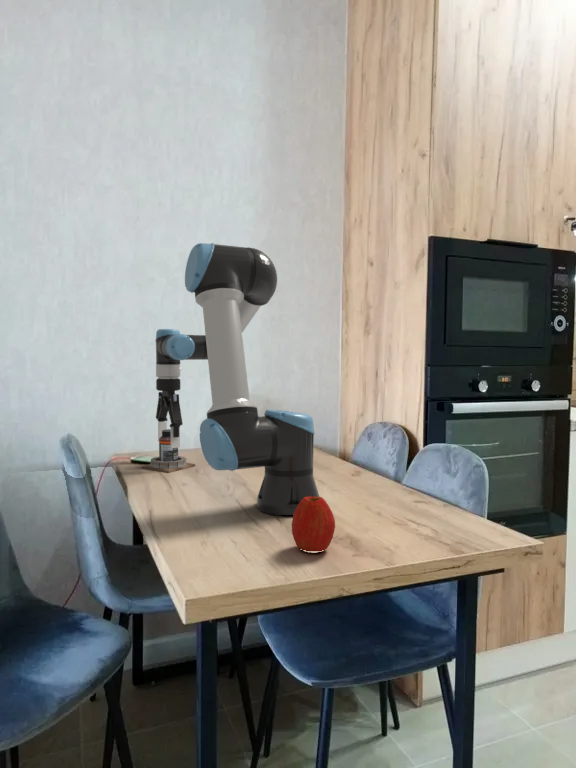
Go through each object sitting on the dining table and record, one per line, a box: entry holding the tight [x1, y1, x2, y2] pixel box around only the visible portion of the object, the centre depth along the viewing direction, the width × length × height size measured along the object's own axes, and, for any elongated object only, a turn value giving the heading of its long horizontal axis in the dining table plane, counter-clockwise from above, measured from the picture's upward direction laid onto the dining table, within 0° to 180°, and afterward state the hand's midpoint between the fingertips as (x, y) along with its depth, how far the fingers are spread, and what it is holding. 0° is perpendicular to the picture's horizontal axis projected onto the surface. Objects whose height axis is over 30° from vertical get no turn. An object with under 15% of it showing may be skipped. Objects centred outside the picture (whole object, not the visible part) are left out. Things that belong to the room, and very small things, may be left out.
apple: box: [291, 495, 336, 551], centre depth 102 cm, size 8×8×11 cm
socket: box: [140, 455, 196, 474], centre depth 174 cm, size 12×12×3 cm
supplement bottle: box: [158, 428, 179, 462], centre depth 173 cm, size 6×6×11 cm
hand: (168, 444), depth 173 cm, fingers open, 13 cm apart
